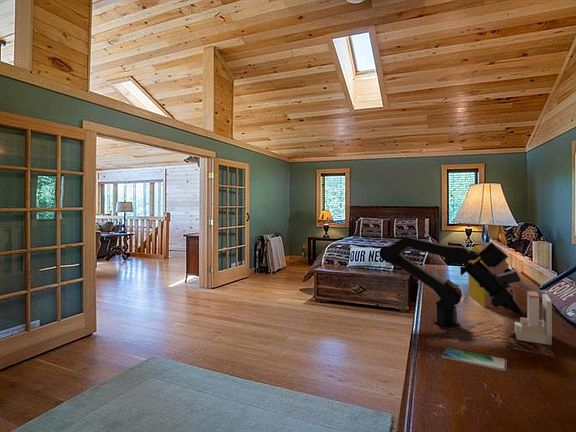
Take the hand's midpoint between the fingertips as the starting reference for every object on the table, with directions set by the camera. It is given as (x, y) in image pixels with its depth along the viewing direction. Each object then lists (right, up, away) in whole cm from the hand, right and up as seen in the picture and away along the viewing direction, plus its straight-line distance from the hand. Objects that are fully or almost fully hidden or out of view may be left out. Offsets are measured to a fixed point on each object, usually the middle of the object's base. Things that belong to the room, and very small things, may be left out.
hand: (522, 313), depth 111 cm
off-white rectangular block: (+2, -4, -1) cm, 5 cm away
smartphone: (-25, -8, -18) cm, 32 cm away
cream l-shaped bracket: (+2, -7, -1) cm, 7 cm away
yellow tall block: (+13, -7, +42) cm, 45 cm away
